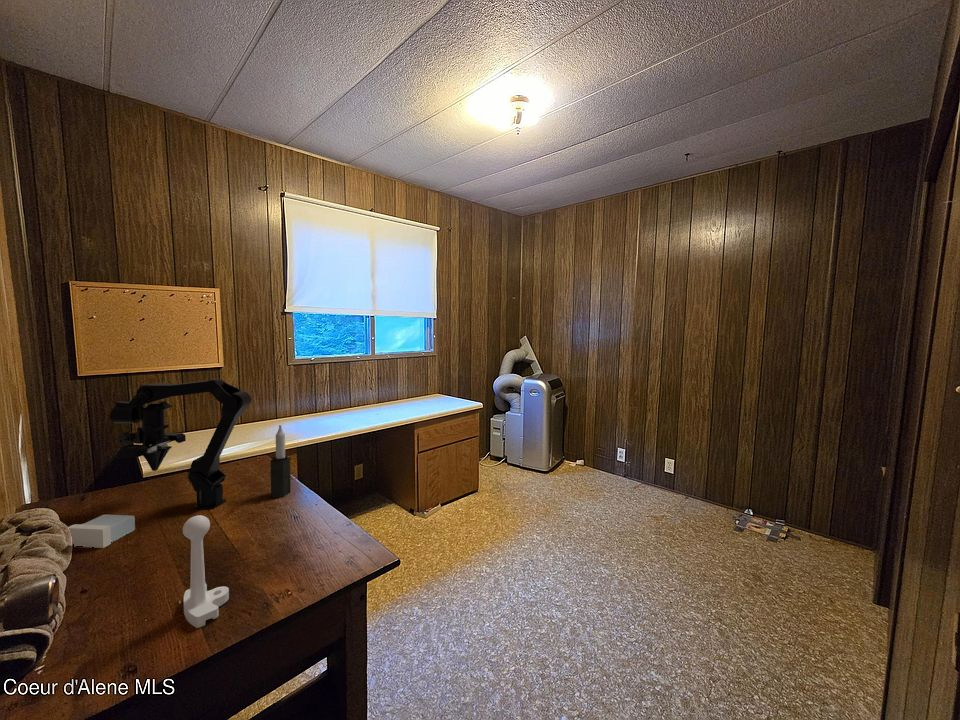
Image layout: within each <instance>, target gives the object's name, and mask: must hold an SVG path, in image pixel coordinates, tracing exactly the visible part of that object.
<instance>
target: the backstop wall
mask: <svg viewBox="0 0 960 720" xmlns="http://www.w3.org/2000/svg"><path fill="white" fill-rule="evenodd" d="M83 524H84V523H81V524H78V523H77V524H76V523H75V524H72V525H69V526H68V528H69V530H70V533H71V536H72V540H73V544H74V548H75V547H76V546H83V547H82V548H92V547H94V549H97V548H98V549H104V548H106V547H108V546H110V545H111V544H112V543H111V527H110V526H105V525H83ZM76 548H77V547H76Z"/></svg>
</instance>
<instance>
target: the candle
mask: <svg viewBox="0 0 960 720" xmlns="http://www.w3.org/2000/svg"><path fill="white" fill-rule="evenodd" d="M290 492H291V457H289V456H288V455H286V434H285V432H284V431H283V427H282V424H279V425H278V430H277V432H276V434H275V456H274V457H272V459H271V460H270V497H271V496H272V497H273V498H279V497H281V498H284V497H285V495H286V496H287V495H289V494H288V493H290ZM290 494H291V493H290Z"/></svg>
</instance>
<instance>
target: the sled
mask: <svg viewBox="0 0 960 720" xmlns="http://www.w3.org/2000/svg"><path fill="white" fill-rule="evenodd" d="M135 520H136V519H135V515H128V514H127V515H126V514H125V515H123V514H102V515H99V516H97V517H95V518H93V519H91V520H88V521H87V522H85V523H82V524H83V525H105V526H110V527H111V542H112V543H113V541H114V542H116V541H117V540H119V539H121V538H123V537H124V536H127V535H128V534H130V533H132V532H134V531H135V530H136V523H135V522H136V521H135ZM126 534H127V535H126Z"/></svg>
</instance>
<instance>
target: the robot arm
mask: <svg viewBox="0 0 960 720" xmlns="http://www.w3.org/2000/svg"><path fill="white" fill-rule="evenodd" d="M202 393H203V394H204V393H210V394H212V395H213V398H215V400H217V401H218V402H219V403H220V404H221V405H222V406H221V410H220V411H221V418H220V420H219V421H218V424H217V426H216V428H215V430H214V432H213V434H212V437H211V439H210V440H209V443H208V445H207V447H206V449H205V451H204V452H203V455H201V456H199V457H197V458H195V459H194V460H192V462H191V464H190V468H189V469H188V470H187V471H186V473H188V475H187V480H188V481H189V482H190V484H191V485H192V488H193V490H194V492H196V505H194V506H193V508H194V509H205V510H206V509H207V510H208V509H209V510H212V509H215V508H217V507H218V506H220V505H222V504H223V503H225V502H226V501H227V499H226V498H224V487H223V486H224V485H223V484H221V483H224V482H225V480H226V478H227V475H226V474H225V473H224V472H223V471H221V470H220V465H221V462H220V460H221V459H220V457H221V455H222V453H223V451H224V448H225V446H226V444H227V442H228V441H229V438H230V436H231V434H232V432H233V430H234V427H235V425H236V423H237V421H238V419H239V418H240V417H241V416H242V415H243V414H244V413H245V412H246V410H247V409H248V408H249V406H250V405H251V403H252V400H253V399H252V397H251V395H250V394H249V392H246V391H244V390H243V391H242V390H241V389H239V388H238V387H236V386H234V385H232V384H229V383H228V382H226V381H225V380H223V379H221V378H214V379H210V380H209V379H208V380H202V381H200V380H199V381H193V382H192V381H191V382H184V383H176V384H175V383H170V382H169V383H168V382H155V383H150V384H144V385H140V386H139V387H138V388H137V391H136V393H135V395H134V396H133V397H132V398H131V400H130V401H120V400H119V401H116V402H115V404H114V405H115V406H114V407H113V408H112V409H111V412H110V413H109V419H110V421H111V423H114V424H138V423H139V422H140V421H141V423H140V424H141V426H139V427H137V428H136V432H132V433H130V432H129V431H127V432H122V433H120V434H118V442H119V444H121V445H123V444H125V446H121V447H119V448H118V449H117V458H132V459H133V458H140V457H144V459H145V461H146V462H147V464H148V466H149V467H150V469H151V471H153V472H155V471H158V470H159V468H160V467H161V464H162V462H163V460H164V459H165V458H166V456H167V454H168V453H169V451H170V450H171V449H172V447H173V446H171V445H169V446H168V443H171V442H174V441H175V442H176V443H178V444H180V443H183V442H186V441H187V440H186V435H185V434H184V433H183V432H168V433H166V429H168V428H169V424H167V423H166V417H165V416H166V413H165V412H166V411H165V410H168V409H171V408H172V407H173V405H172V404H170V403H169V402H167V400H166V399H169V398H172V397H179V396H187V395H195V394H202ZM162 400H164V401H162ZM159 401H160V402H159ZM155 402H159V403H155ZM147 404H148V405H147ZM145 405H147V406H145Z"/></svg>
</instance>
